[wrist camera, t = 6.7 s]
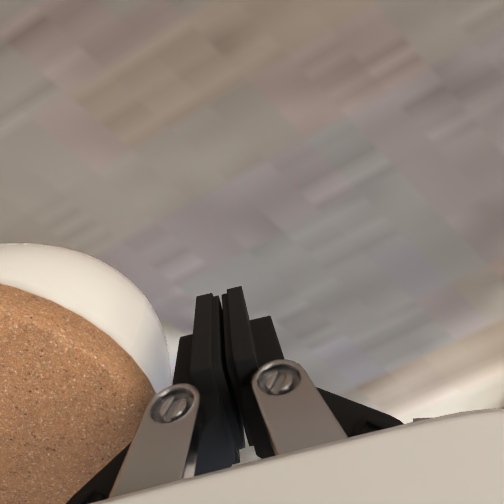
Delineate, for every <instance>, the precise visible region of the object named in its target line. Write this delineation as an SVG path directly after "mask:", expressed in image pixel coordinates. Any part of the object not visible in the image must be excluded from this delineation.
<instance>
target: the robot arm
mask: <svg viewBox="0 0 504 504" xmlns="http://www.w3.org/2000/svg"><path fill="white" fill-rule="evenodd" d="M222 307H223V310H222ZM243 426H244V428H243ZM244 429H245V433H246V436H247V440H248V443H249V446H254V448H255V451H256V455H257V456H258V457H260V458H262V459H261V460H257V461H253V462H249V463H245V464H241V465H237V466H233V467H231V466H232V464H236V463H240V455H239V449H242V448H245V438H244ZM66 504H504V408H502V409H484V410H475V411H466V412H459V413H455V414H450V415H445V416H440V417H435V418H416V419H413V422H411V423H407V424H403V423H402V422H401V421H400V420H398V419H396V418H394V417H392V416H390V415H388V414H385V413H382V412H380V411H377V410H375V409H372V408H369V407H367V406H364V405H362V404H359V403H356V402H354V401H351V400H348V399H346V398H343V397H341V396H338V395H335V394H333V393H330V392H328V391H325V390H322V389H320V388H317V387H315V385H314V384H313V382H312V381H311V379H310V378H309V376H308V375H307V373H306V371H305V370H304V369H303V368H302V367H301V365H300V364H298V363H296V362H294V361H291V360H286V359H284V356H283V353H282V350H281V347H280V344H279V341H278V338H277V335H276V332H275V328H274V325H273V322H272V319H271V316H266V317H262V318H258V319H254V320H249V316H248V312H247V307H246V303H245V299H244V295H243V291H242V287H241V286H239V287H235V288H231V289H227V294H223V295H222V306H221V302H220V299H219V296H214V297H213V294H212V293H210V294H205V295H201V296H197V297H196V308H195V318H194V329H193V334H191V335H187V336H183V337H180V340H179V347H178V353H177V359H176V366H175V372H174V379H173V385H171V386H169V387H167V388H165V389H163V390H161V391H160V392H159V393H157V394H156V395H155V396H154V397H153V398H152V399H151V400H150V401H149V403H148V405H147V406H146V408H145V410H144V413H143V415H142V418H141V420H140V423H139V425H138V427H137V430H136V432H135V435H134V437H133V439H132V442H131V443H130V444H128V445H127V446H126V447H125V448H124V449H123V450H122V451H121V452H120V453H119V454H118V455H117V456H115V457H114V458H113V459H112V460H111V461H110V462H109V463H108V464H107V465H106V466H105V467H104V468H102V469H101V470H100V471H99V472H98V473H97V474H96V475H95V476H94V477H93V478H92V479H91V480H90V481H88V482H87V483H86V484H85V485H84V486H83V487H82V488H81V489H80V490H79V491H78V492H77V493H75V494H74V495H73V496H72V497H71V498H70V500H69V501H68V502H67V503H66Z"/></svg>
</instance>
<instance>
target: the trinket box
mask: <svg viewBox="0 0 504 504" xmlns="http://www.w3.org/2000/svg"><path fill="white" fill-rule="evenodd" d="M169 386H171V364H170V355H169V349H168V344H167V341H166V337H165V333H164V330H163V328H162V326H161V323H160V321H159V319H158V317H157V315H156V313H155V311H154V309H153V307H152V306H151V304H150V303H149V301H148V300H147V299H146V297H145V296H144V294H143V293H142V292H141V291H140V290H139V289H138V288H137V287H136V286H135V285H134V284H133V283H132V282H131V281H130V280H129V279H128V278H126V277H125V276H124V275H122V274H121V273H120V272H119V271H117V270H116V269H114V268H113V267H111V266H109V265H107V264H106V263H104V262H102V261H100V260H98V259H96V258H94V257H91V256H89V255H86V254H84V253H81V252H78V251H74V250H70V249H67V248H63V247H57V246H49V245H41V244H32V243H4V244H0V504H66V503H67V502H68V501H69V500H70V498H71V497H72V496H73V495H74V494H75V493H77V492H78V491H79V490H80V489H81V488H82V487H83V486H84V485H85V484H86V483H87V482H88V481H90V480H91V479H92V478H93V477H94V476H95V475H96V474H97V473H98V472H99V471H100V470H101V469H102V468H104V467H105V466H106V465H107V464H108V463H109V462H110V461H111V460H112V459H113V458H114V457H115V456H117V455H118V454H119V453H120V452H121V451H122V450H123V449H124V448H125V447H126V446H127V445H128V444H130V443H131V442H132V439H133V437H134V435H135V432H136V430H137V427H138V425H139V423H140V420H141V418H142V415H143V413H144V410H145V408H146V406H147V405H148V403H149V401H150V400H151V399H152V398H153V397H154V396H155V395H156V394H157V393H159V392H160V391H161V390H163V389H165V388H167V387H169Z"/></svg>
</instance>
